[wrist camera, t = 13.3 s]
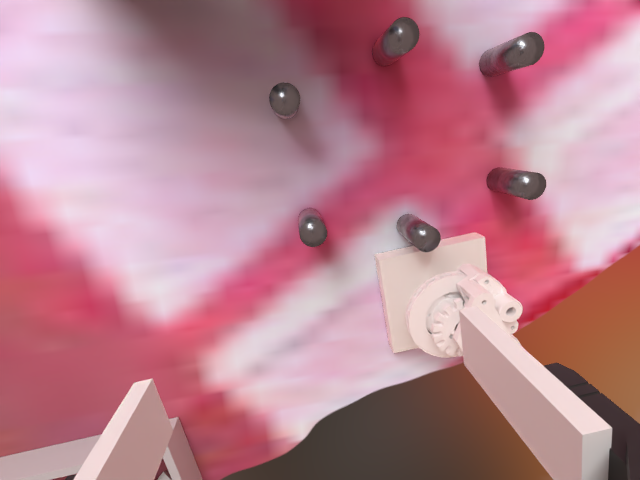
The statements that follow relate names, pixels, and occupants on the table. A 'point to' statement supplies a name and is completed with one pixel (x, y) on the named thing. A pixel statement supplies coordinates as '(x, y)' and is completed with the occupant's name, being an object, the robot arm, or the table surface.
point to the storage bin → (67, 458)
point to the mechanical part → (457, 309)
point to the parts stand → (420, 278)
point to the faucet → (165, 476)
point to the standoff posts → (385, 53)
